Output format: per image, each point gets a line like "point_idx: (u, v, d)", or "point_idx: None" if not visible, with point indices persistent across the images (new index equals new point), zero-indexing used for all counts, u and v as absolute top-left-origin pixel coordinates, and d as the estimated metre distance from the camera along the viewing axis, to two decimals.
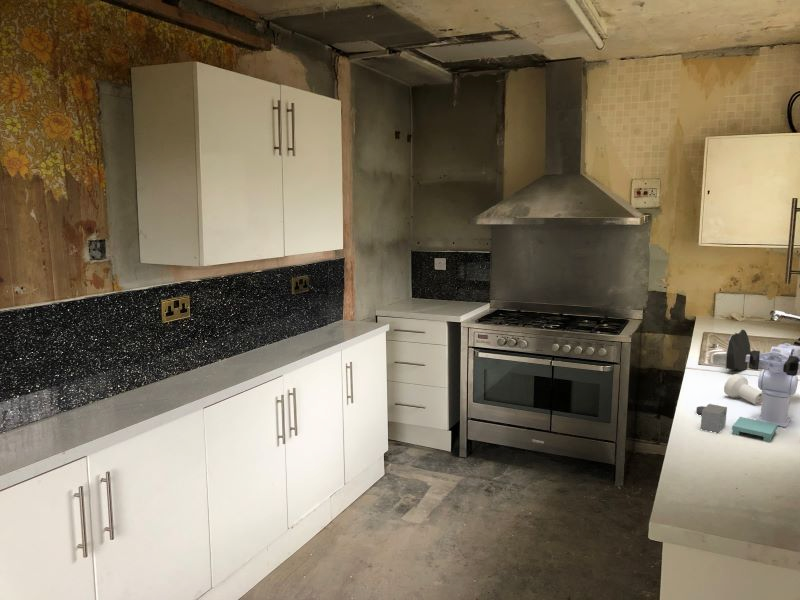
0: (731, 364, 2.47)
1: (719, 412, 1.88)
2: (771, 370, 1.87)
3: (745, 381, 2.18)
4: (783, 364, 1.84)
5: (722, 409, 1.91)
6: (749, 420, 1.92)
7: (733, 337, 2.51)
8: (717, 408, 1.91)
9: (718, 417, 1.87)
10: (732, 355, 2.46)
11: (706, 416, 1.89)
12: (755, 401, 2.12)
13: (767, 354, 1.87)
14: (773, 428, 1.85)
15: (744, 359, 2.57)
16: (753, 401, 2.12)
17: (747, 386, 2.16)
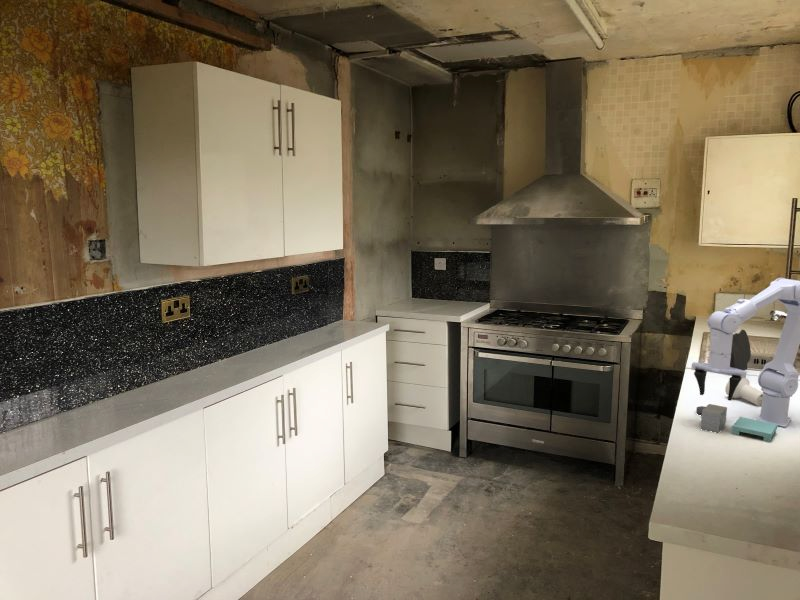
0: (731, 364, 2.47)
1: (719, 412, 1.88)
2: None
3: (746, 381, 2.17)
4: (727, 374, 1.88)
5: (722, 409, 1.91)
6: (749, 420, 1.92)
7: (733, 337, 2.51)
8: (717, 409, 1.91)
9: (718, 417, 1.87)
10: (732, 355, 2.46)
11: (706, 416, 1.89)
12: (757, 402, 2.12)
13: None
14: (773, 428, 1.85)
15: (744, 359, 2.57)
16: (755, 402, 2.12)
17: (749, 387, 2.15)
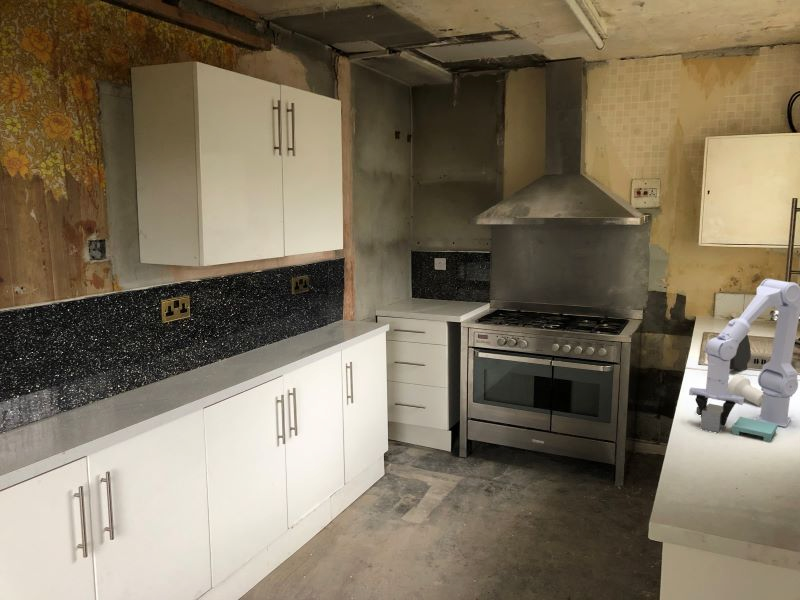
0: (731, 364, 2.47)
1: (719, 412, 1.88)
2: None
3: (748, 382, 2.17)
4: (724, 400, 1.89)
5: (722, 409, 1.91)
6: (749, 420, 1.92)
7: None
8: (717, 408, 1.91)
9: (718, 417, 1.87)
10: None
11: (706, 416, 1.89)
12: (758, 402, 2.11)
13: None
14: (773, 428, 1.85)
15: (744, 359, 2.57)
16: (756, 402, 2.11)
17: (750, 387, 2.15)
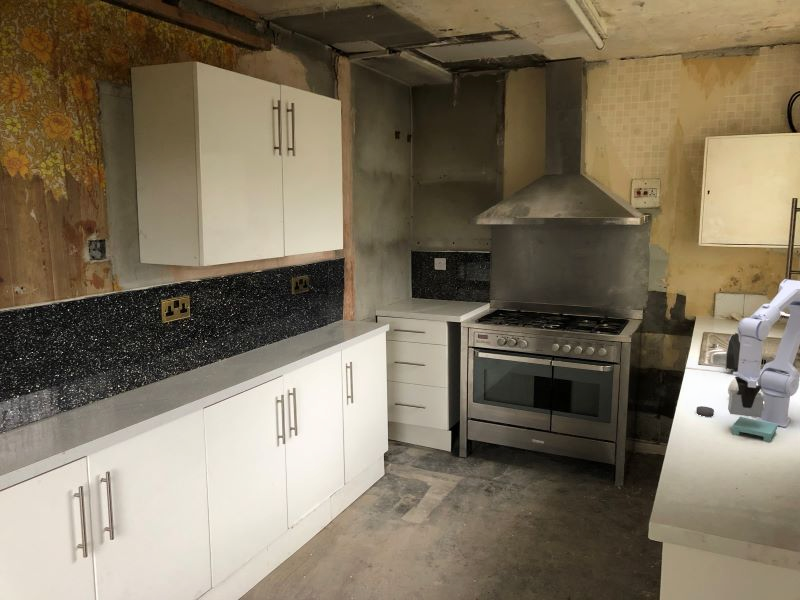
0: (731, 364, 2.47)
1: (737, 394, 1.87)
2: None
3: None
4: None
5: None
6: (749, 420, 1.92)
7: (733, 337, 2.51)
8: None
9: (731, 397, 1.87)
10: (732, 355, 2.46)
11: (730, 395, 1.90)
12: None
13: None
14: (773, 428, 1.85)
15: None
16: None
17: None
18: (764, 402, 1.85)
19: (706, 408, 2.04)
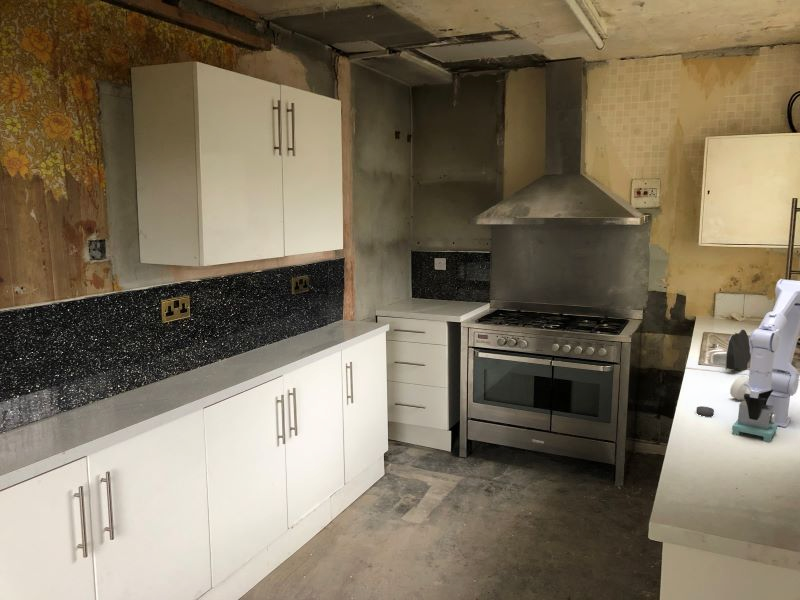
0: (731, 364, 2.47)
1: (745, 405, 1.87)
2: None
3: None
4: None
5: None
6: None
7: (733, 337, 2.51)
8: None
9: (739, 407, 1.88)
10: (732, 355, 2.46)
11: None
12: None
13: None
14: (773, 428, 1.85)
15: (744, 359, 2.57)
16: None
17: None
18: (773, 415, 1.83)
19: (706, 408, 2.05)
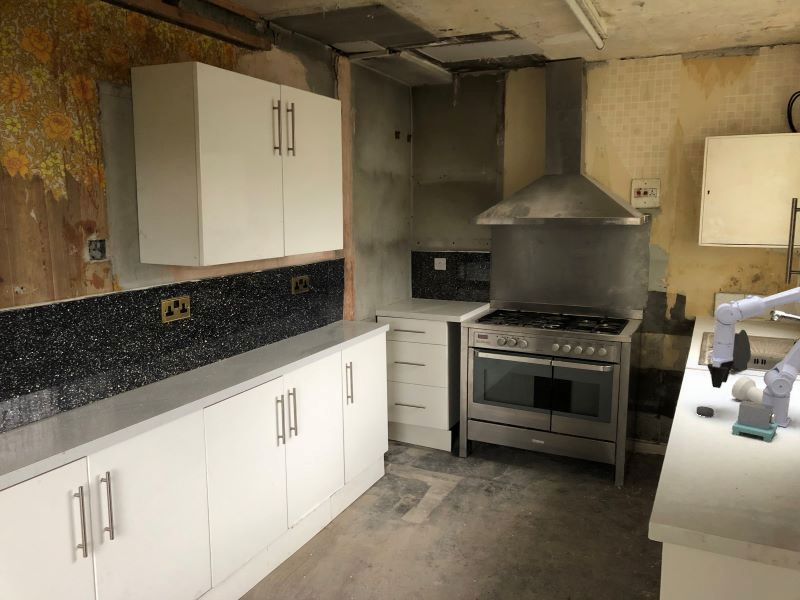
0: None
1: (745, 405, 1.87)
2: None
3: (753, 384, 2.15)
4: None
5: (758, 407, 1.85)
6: None
7: None
8: (757, 406, 1.86)
9: (739, 407, 1.88)
10: None
11: None
12: None
13: None
14: (773, 428, 1.85)
15: (744, 359, 2.57)
16: None
17: (755, 389, 2.13)
18: (773, 415, 1.83)
19: (706, 408, 2.04)
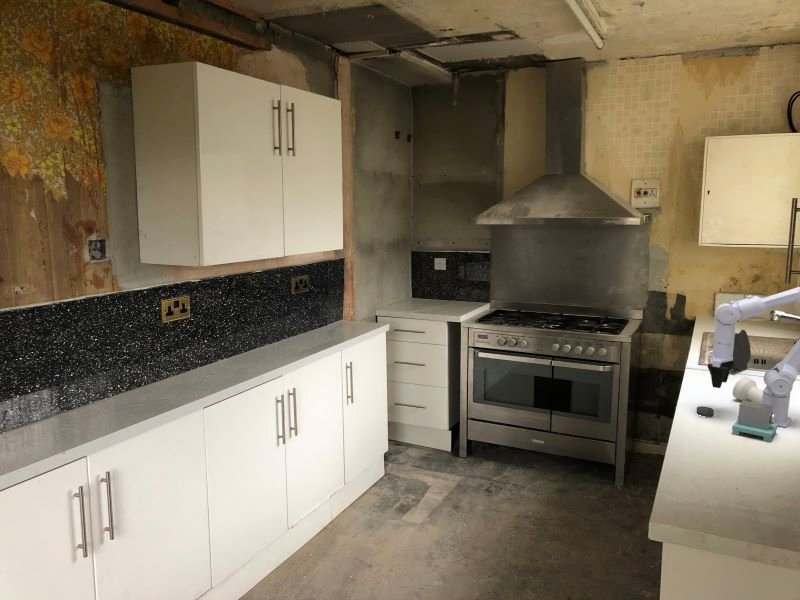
0: None
1: (745, 405, 1.87)
2: None
3: (754, 384, 2.15)
4: None
5: (758, 407, 1.85)
6: None
7: None
8: (757, 406, 1.86)
9: (739, 407, 1.88)
10: None
11: None
12: None
13: None
14: (773, 428, 1.85)
15: (744, 359, 2.57)
16: None
17: (756, 389, 2.13)
18: (773, 415, 1.83)
19: (706, 408, 2.04)
